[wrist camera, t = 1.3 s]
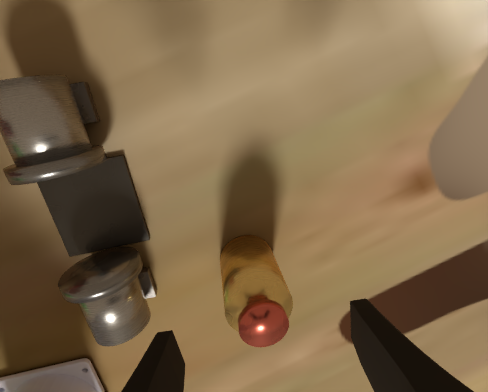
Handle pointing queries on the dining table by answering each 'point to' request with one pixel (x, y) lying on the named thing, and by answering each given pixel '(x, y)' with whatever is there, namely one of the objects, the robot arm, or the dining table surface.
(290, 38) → the dining table surface
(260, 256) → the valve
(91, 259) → the grey metal fittings
